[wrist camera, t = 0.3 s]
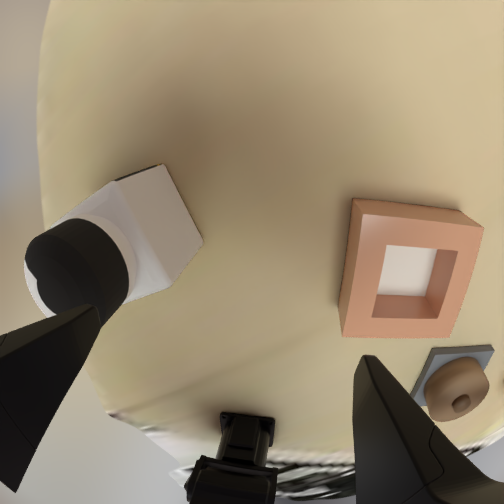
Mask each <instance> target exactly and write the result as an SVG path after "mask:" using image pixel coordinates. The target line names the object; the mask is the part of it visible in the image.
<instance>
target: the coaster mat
mask: <svg viewBox="0 0 504 504" xmlns="http://www.w3.org/2000/svg"><path fill="white" fill-rule="evenodd" d="M494 351H495V350H494V349H493V347H492V346H491V345H482V346H468V347H450V348H432V350H431V352H430V355H429V357H428V359H427V361H426V364H425V366H424V368H423V370H422V372H421V374H420V376H419V378H418V381H417V383H416V385H415V387H414V389H413V391H412V392H411V394H410V396H411V397H412V398H413V399H414V400H415V401H416V402H417V404H418V405H419V406H427V404H426V400H425V397H424V393H423V390H424V386H425V383H426V382H427V380H428V379H429V377H430V376H431V375H432V374H433V373H434V372H435V371H436V370H437V369H439V368H440V367H441V366H443V365H444V364H446V363H448V362H450V361H452V360H454V359H457V358H461V357H473V358H475V359H476V360H478V362H479V364H480V366H481V368H482V369H483V371H484V369H485V367H486V366H487V364H488V362H489V360H490V358H491V356H492V355H493V353H494Z"/></svg>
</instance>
